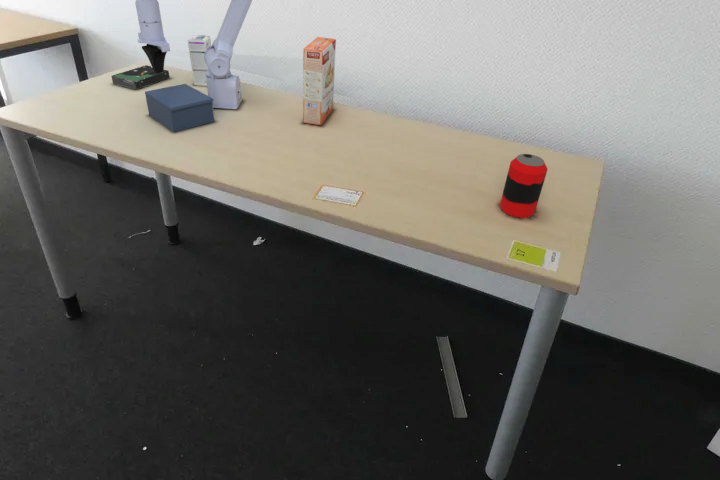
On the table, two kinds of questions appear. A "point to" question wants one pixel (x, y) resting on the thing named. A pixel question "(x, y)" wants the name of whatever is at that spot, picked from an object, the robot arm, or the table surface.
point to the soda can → (523, 185)
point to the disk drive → (139, 77)
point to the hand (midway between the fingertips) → (158, 72)
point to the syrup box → (199, 57)
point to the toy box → (180, 115)
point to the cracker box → (318, 80)
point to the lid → (178, 96)
